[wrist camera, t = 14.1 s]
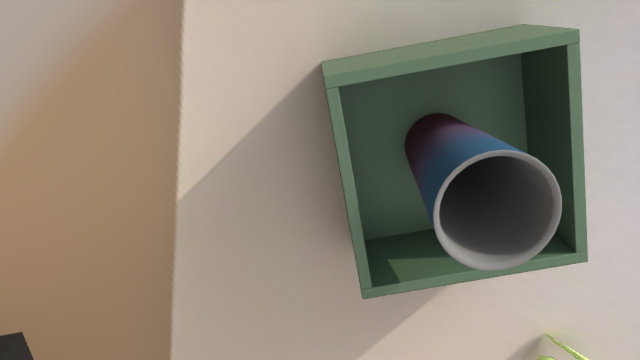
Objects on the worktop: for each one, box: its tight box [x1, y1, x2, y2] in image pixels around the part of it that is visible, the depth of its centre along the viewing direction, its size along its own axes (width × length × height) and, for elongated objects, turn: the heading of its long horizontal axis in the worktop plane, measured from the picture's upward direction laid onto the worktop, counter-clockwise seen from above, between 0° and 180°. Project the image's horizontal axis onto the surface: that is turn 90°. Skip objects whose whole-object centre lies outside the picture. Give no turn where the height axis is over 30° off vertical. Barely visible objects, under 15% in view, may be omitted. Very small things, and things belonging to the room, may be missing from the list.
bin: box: [321, 24, 588, 299], centre depth 40 cm, size 16×16×9 cm
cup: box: [405, 113, 562, 271], centre depth 36 cm, size 7×7×15 cm
